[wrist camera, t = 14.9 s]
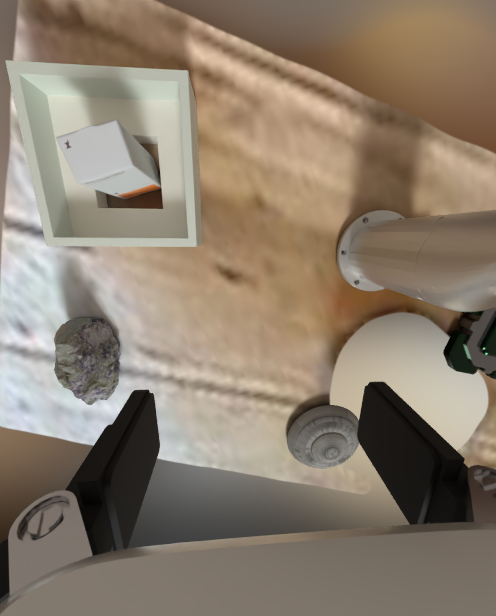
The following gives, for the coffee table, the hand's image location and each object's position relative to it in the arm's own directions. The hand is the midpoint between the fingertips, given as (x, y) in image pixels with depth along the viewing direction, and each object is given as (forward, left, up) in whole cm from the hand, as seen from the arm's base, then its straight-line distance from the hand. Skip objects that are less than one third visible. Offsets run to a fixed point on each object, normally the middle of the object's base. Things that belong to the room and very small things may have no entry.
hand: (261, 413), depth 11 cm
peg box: (+14, -15, -30) cm, 37 cm away
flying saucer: (-17, +31, -31) cm, 47 cm away
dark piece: (-48, +9, -31) cm, 58 cm away
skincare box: (+14, -15, -31) cm, 37 cm away
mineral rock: (+24, +12, -31) cm, 41 cm away
